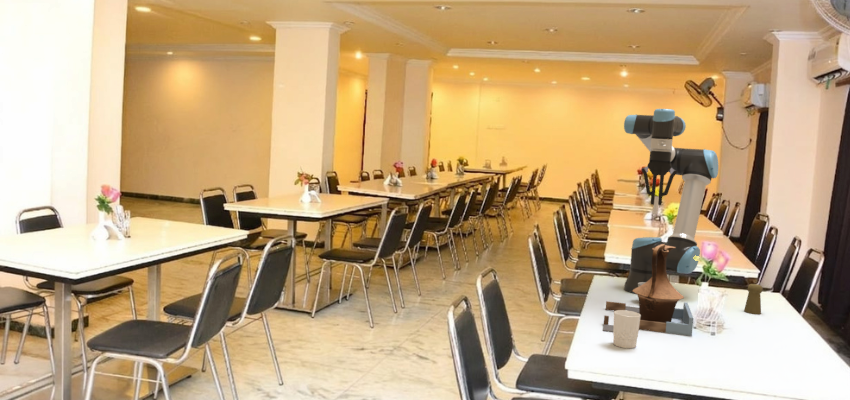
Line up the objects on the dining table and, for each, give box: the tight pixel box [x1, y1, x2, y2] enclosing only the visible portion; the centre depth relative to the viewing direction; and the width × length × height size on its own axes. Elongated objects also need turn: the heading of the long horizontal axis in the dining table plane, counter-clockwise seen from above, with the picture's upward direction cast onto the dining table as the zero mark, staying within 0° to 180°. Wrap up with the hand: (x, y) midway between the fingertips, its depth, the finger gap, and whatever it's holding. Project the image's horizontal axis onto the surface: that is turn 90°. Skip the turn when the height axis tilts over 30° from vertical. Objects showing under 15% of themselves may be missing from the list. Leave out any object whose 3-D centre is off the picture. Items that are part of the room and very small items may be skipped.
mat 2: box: [625, 305, 639, 313], centre depth 265 cm, size 10×8×1 cm
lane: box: [603, 300, 666, 334], centre depth 249 cm, size 20×24×3 cm
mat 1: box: [602, 323, 614, 333], centre depth 235 cm, size 10×8×1 cm
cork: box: [743, 283, 763, 315], centre depth 274 cm, size 6×6×11 cm
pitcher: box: [633, 244, 685, 323], centre depth 247 cm, size 18×17×28 cm
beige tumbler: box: [612, 310, 641, 349], centre depth 217 cm, size 8×8×10 cm
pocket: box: [665, 301, 694, 337], centre depth 246 cm, size 8×24×6 cm, turn 164°
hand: (655, 213), depth 266 cm, fingers closed
